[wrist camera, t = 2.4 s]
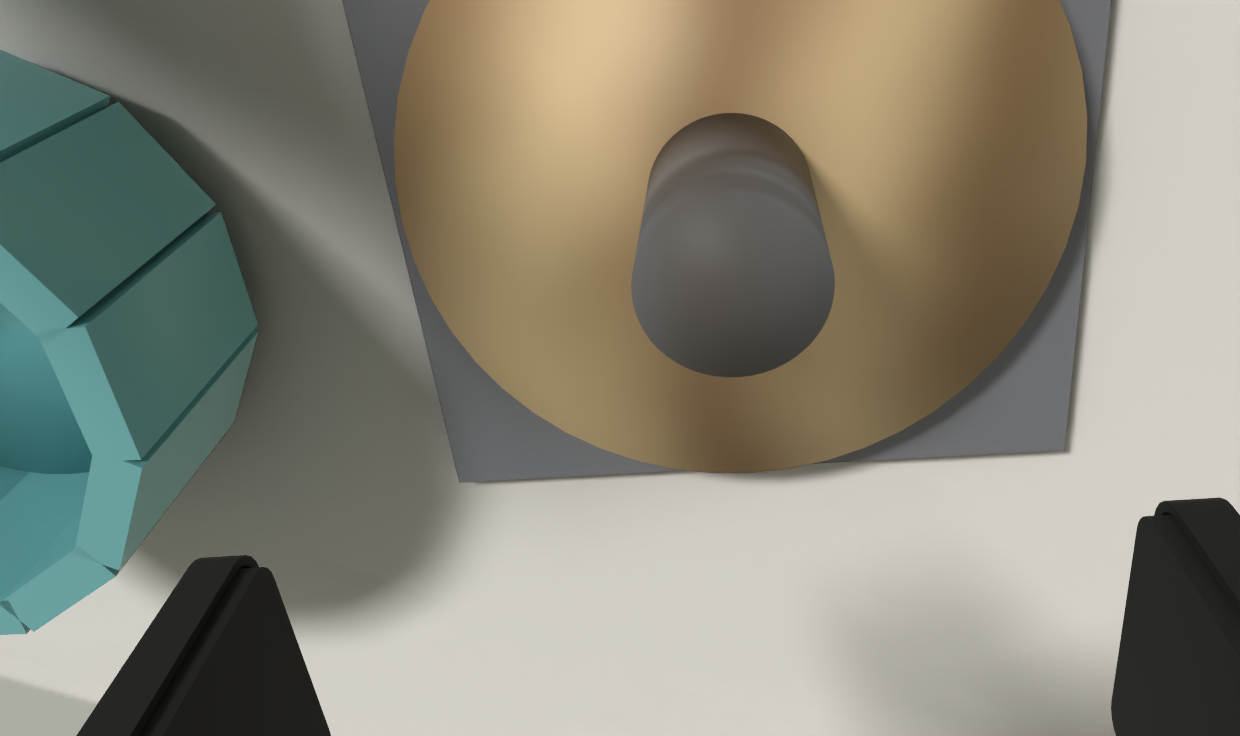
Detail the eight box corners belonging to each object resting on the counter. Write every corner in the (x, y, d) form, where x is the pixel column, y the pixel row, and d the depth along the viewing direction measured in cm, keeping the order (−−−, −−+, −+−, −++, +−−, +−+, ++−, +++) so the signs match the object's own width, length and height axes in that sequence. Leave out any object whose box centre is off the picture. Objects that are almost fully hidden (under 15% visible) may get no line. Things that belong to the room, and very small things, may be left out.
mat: (1131, -284, 19) (1140, -285, 18) (1058, 439, 26) (1064, 450, 26) (311, -166, 21) (302, -165, 21) (463, 472, 29) (459, 482, 28)
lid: (1108, -249, 19) (1259, -265, 14) (1045, 434, 26) (1127, 595, 21) (332, -141, 21) (203, -119, 16) (473, 466, 28) (418, 620, 23)
